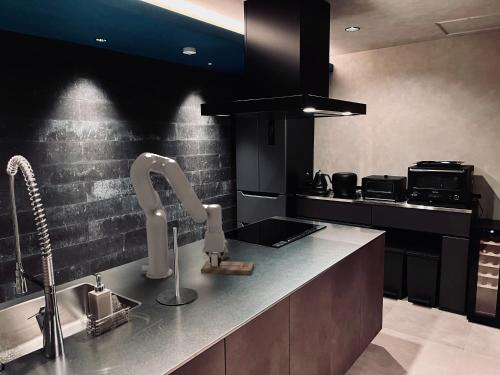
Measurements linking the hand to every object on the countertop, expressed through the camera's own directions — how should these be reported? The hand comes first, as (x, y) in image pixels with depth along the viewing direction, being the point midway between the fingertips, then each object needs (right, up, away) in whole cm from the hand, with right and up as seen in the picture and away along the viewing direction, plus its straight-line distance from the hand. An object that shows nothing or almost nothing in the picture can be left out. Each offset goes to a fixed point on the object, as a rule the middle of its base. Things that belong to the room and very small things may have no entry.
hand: (215, 263), depth 195 cm
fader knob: (0, 0, 0) cm, 0 cm away
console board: (+6, -3, -1) cm, 7 cm away
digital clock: (0, 0, +20) cm, 20 cm away
